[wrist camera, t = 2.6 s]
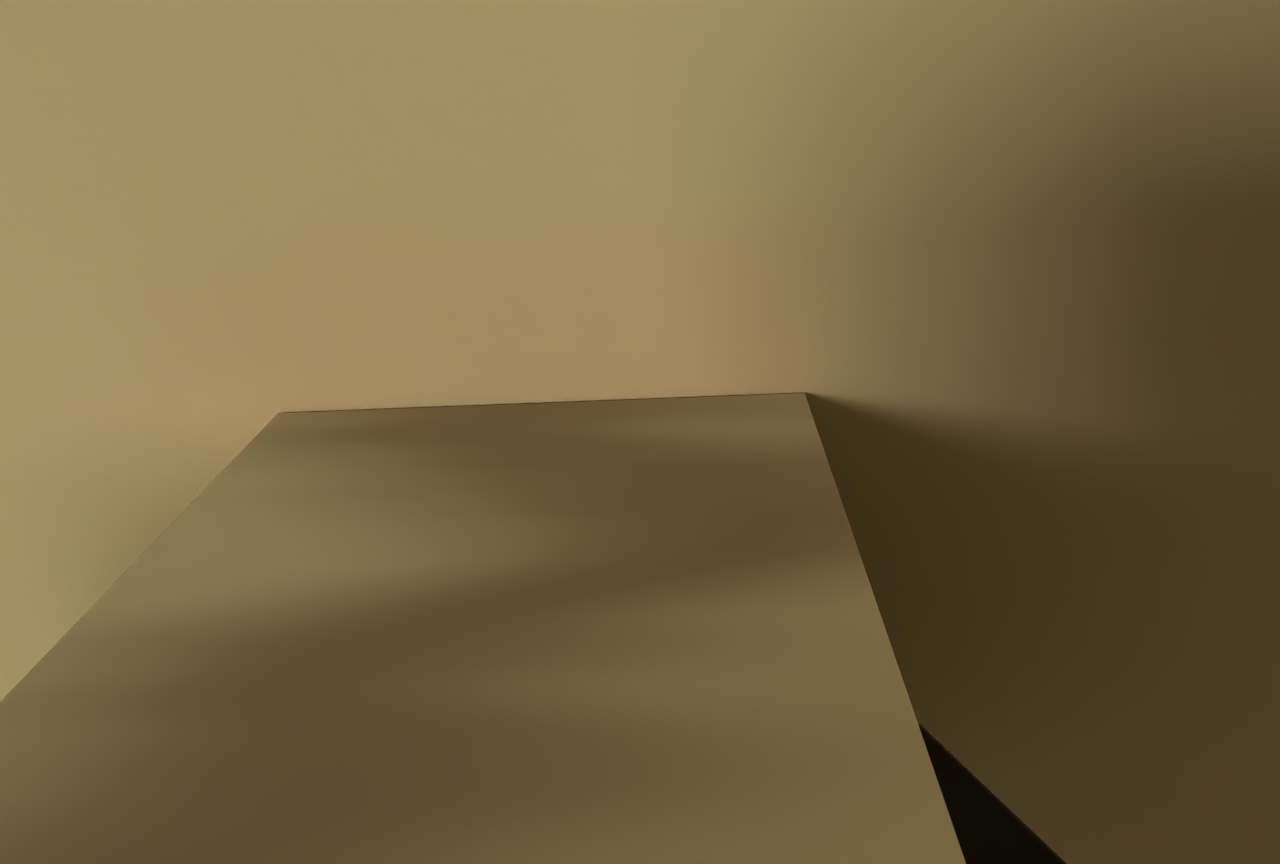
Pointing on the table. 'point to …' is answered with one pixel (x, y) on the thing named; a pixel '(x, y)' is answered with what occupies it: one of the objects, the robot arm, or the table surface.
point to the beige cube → (487, 656)
